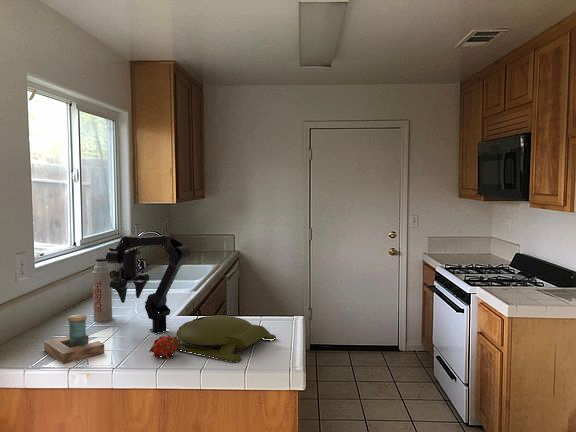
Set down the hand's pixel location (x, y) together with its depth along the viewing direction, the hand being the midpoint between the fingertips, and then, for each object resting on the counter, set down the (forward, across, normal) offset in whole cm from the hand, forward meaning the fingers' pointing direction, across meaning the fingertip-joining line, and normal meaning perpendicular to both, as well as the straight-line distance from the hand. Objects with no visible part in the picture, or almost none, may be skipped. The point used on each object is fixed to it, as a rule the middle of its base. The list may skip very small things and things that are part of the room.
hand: (130, 300), depth 212 cm
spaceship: (+13, +2, +46) cm, 48 cm away
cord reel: (+12, +31, +2) cm, 33 cm away
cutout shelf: (+12, +32, +1) cm, 34 cm away
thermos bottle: (+12, -5, -20) cm, 24 cm away
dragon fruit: (+12, +23, +35) cm, 44 cm away
